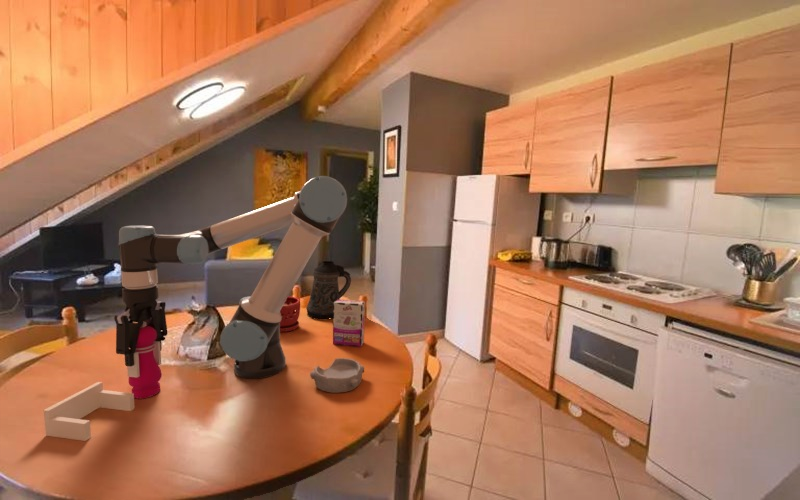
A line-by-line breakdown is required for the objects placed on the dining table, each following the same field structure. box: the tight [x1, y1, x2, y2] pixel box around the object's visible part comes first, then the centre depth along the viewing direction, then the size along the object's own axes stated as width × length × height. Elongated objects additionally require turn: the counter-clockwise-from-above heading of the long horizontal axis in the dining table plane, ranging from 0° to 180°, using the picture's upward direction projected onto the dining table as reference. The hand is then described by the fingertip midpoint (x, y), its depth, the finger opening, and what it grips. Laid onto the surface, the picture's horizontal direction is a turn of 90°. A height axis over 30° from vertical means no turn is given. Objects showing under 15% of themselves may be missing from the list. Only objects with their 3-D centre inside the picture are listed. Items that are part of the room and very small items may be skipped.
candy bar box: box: [332, 299, 366, 348], centre depth 135 cm, size 11×5×16 cm, turn 83°
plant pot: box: [280, 296, 301, 333], centre depth 147 cm, size 13×13×12 cm
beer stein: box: [305, 260, 352, 320], centre depth 168 cm, size 16×19×25 cm
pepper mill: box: [128, 321, 163, 400], centre depth 95 cm, size 7×7×20 cm
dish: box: [309, 357, 365, 394], centre depth 106 cm, size 14×14×5 cm
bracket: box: [43, 381, 135, 442], centre depth 83 cm, size 10×12×6 cm
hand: (145, 369), depth 95 cm, fingers closed on pepper mill, 6 cm apart
